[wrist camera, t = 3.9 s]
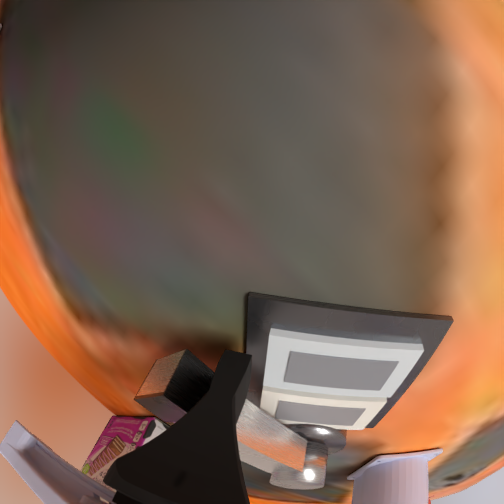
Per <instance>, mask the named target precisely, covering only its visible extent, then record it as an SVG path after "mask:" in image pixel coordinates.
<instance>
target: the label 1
mask: <svg viewBox="0 0 504 504" xmlns="http://www.w3.org/2000/svg"><path fill="white" fill-rule="evenodd" d="M423 352H424V348H423V344H412V343H395V342H381V341H369V340H358V339H348V338H339V337H331V336H322V335H315V334H307V333H300V332H293V331H286V330H280V329H274V328H271V330H270V334H269V341H268V350H267V358H266V366H265V374H264V381H263V386H268V387H274V388H280V389H287V390H294V391H302V392H310V393H319V394H329V395H341V396H356V397H388V398H391V396H392V395H393V394H394V393H395V391H396V390H397V389H398V387H399V386H400V385H401V383H402V382H403V381H404V379H405V378H406V377H407V375H408V374H409V372H410V371H411V370H412V368H413V367H414V365H415V364H416V362H417V361H418V359H419V358H420V356H421V355H422V353H423Z"/></svg>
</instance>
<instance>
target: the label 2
mask: <svg viewBox="0 0 504 504" xmlns="http://www.w3.org/2000/svg"><path fill="white" fill-rule="evenodd" d="M386 403H387V397H356V396H341V395H329V394H319V393H310V392H302V391H294V390H287V389H280V388H274V387H268V386H263V390H262V397H261V404H260V409H261V410H262V411H264V412H265V413H266V414H268V415H269V416H271V417H272V418H274V419H275V420H277V421H278V422H280V423H282V424H315V425H323V426H328V427H332V428H335V429H346V430H363V429H364V428H365V427H366V426H367V425H368V423H369V422H370V421H371V420H372V419H373V418H374V417H375V416H376V414H377V413H378V412H379V411H380V410H381V409H382V407H383V406H384V405H385V404H386Z"/></svg>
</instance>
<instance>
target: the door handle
mask: <svg viewBox="0 0 504 504" xmlns="http://www.w3.org/2000/svg"><path fill="white" fill-rule="evenodd" d="M214 374H215V372H213V371H212V370H211V369H210V368H209V367H207V366H206V365H205V364H204V363H203V362H202V361H200V360H199V359H198V358H197V357H196V356H195V355H193V354H192V353H191V352H190V351H189V350H188V349H185V350H182V351H180V352H177V353H174V354H171V355H169V356H166V357H163V358H160V359H157V360H156V361H155V363H154V365H153V367H152V368H151V370H150V372H149V373H148V375H147V377H146V379H145V380H144V382H143V384H142V386H141V387H140V389H139V391H138V393H137V394H136V396H135V398H134V400H135V401H137V402H138V403H139V404H141V405H142V406H143V407H145V408H146V409H148V410H149V411H150V412H152V413H153V414H155V415H156V416H157V417H159V418H160V419H162V420H163V421H165V422H174V423H176V422H177V421H178V420H179V419H180V418H182V417H183V416H184V415H185V414H186V413H187V412H188V411H189V410H190V409H191V408H193V407H194V406H195V405H196V403H197V402H198V401H199V400H200V399H201V398H202V397H203V396H204V395H205V394H206V393H207V392H208V391H209V389H210V386H211V383H212V380H213V377H214ZM236 431H237V441H238V449H239V455H240V460H241V461H243V462H246V463H248V464H250V465H252V466H254V467H257V468H259V469H261V470H264V471H266V472H269V473H272V475H271V479H270V483H271V484H272V485H275V486H279V487H283V488H290V489H317V488H321V487H324V483H325V475H326V467H327V459H328V449H329V448H328V447H327V446H326V445H324V444H321V443H318V442H312V441H307V440H306V439H304V438H303V437H301V436H300V435H298V434H296V433H295V432H293V431H292V430H290V429H289V428H287V427H286V426H284V425H283V424H281V423H280V422H278V421H277V420H275V419H274V418H272V417H271V416H269V415H268V414H266V413H265V412H264V411H262V410H261V409H259V408H258V407H257V406H255V405H254V404H252V403H251V402H250V401H248V400H247V399H246V400H245V403H244V406H243V409H242V411H241V414H240V416H239V419H238V421H237V424H236Z"/></svg>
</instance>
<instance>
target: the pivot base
mask: <svg viewBox="0 0 504 504" xmlns="http://www.w3.org/2000/svg"><path fill="white" fill-rule="evenodd" d="M281 424H282V423H281ZM283 425H284V426H286V427H287V428H289V429H290V430H292V431H293V432H295V433H296V434H298V435H300V436H301V437H303V438H304V439H306V440H307V441H312V442H318V443H321V444H324V445H326V446H327V447H328V448H329V449H328V455H329V454H333V453H336V452H338V451H340V450H342V449H343V448H344V447H345V445H346V431H347V430H346V429H335V428H332V427H328V426H323V425H315V424H283Z"/></svg>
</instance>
